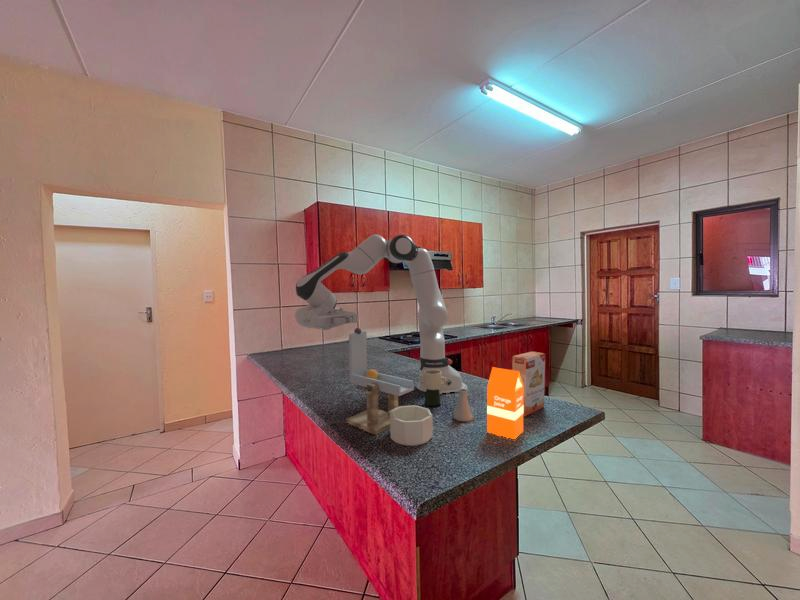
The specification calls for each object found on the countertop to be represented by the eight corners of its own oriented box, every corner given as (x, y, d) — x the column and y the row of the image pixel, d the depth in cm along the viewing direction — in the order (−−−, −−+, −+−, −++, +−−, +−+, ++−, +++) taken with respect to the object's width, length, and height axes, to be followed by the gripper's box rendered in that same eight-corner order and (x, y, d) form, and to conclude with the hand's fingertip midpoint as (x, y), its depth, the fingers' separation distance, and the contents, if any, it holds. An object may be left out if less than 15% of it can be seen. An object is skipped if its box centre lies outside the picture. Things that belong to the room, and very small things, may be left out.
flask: (458, 423, 106) (458, 394, 106) (449, 415, 113) (449, 387, 113) (477, 421, 108) (477, 392, 107) (467, 413, 115) (467, 385, 114)
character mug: (448, 402, 125) (448, 370, 125) (444, 409, 118) (444, 375, 118) (421, 399, 129) (421, 368, 128) (416, 405, 122) (416, 372, 122)
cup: (427, 425, 104) (427, 404, 104) (435, 444, 92) (435, 420, 91) (389, 427, 103) (388, 406, 103) (391, 446, 91) (391, 422, 90)
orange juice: (496, 424, 105) (496, 364, 104) (523, 431, 100) (524, 368, 99) (486, 432, 99) (486, 369, 98) (514, 440, 94) (515, 374, 93)
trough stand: (345, 423, 107) (345, 379, 106) (374, 411, 117) (373, 371, 116) (375, 435, 98) (375, 387, 97) (403, 421, 108) (402, 377, 108)
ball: (377, 379, 110) (377, 367, 110) (378, 382, 106) (378, 370, 106) (366, 379, 109) (366, 368, 109) (366, 383, 105) (366, 371, 105)
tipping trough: (348, 387, 110) (347, 328, 109) (363, 382, 115) (362, 326, 115) (399, 402, 95) (398, 334, 94) (413, 396, 101) (413, 331, 100)
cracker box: (526, 417, 110) (526, 358, 109) (510, 412, 115) (510, 355, 114) (545, 408, 119) (546, 352, 118) (530, 403, 124) (530, 350, 123)
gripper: (300, 312, 115) (324, 313, 106) (344, 309, 131) (367, 310, 122) (301, 329, 115) (324, 332, 107) (344, 324, 131) (367, 326, 122)
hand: (347, 320), depth 114 cm, fingers closed
